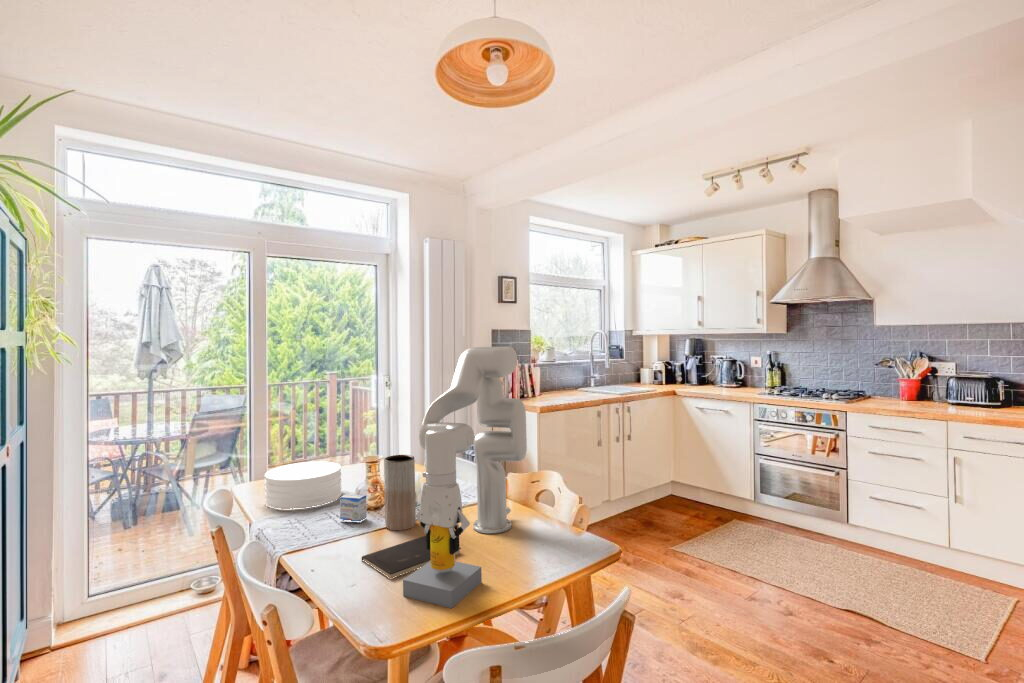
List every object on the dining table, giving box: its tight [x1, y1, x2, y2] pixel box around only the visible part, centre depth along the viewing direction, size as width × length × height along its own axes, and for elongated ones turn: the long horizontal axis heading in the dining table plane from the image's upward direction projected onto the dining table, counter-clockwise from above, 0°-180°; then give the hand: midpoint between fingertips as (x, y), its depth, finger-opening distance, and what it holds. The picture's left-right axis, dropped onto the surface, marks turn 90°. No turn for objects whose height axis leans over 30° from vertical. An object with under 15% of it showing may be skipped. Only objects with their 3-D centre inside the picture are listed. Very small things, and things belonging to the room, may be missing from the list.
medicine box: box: [339, 493, 368, 521], centre depth 181 cm, size 8×4×9 cm, turn 76°
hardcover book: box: [361, 535, 462, 579], centre depth 150 cm, size 16×23×2 cm
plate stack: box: [264, 461, 343, 509], centre depth 207 cm, size 28×28×12 cm
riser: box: [402, 560, 483, 609], centre depth 131 cm, size 14×14×4 cm
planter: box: [383, 454, 417, 531], centre depth 175 cm, size 10×10×23 cm
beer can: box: [430, 513, 456, 572], centre depth 131 cm, size 6×6×15 cm
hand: (442, 549), depth 131 cm, fingers closed on beer can, 6 cm apart
